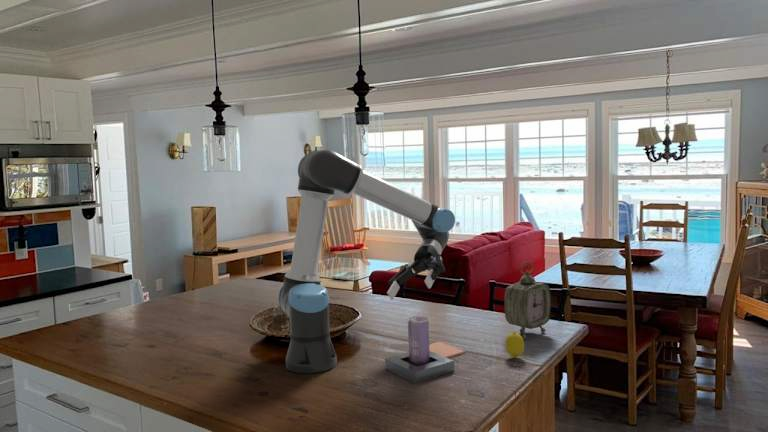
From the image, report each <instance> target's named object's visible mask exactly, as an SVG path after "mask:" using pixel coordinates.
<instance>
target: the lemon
mask: <svg viewBox="0 0 768 432" xmlns="http://www.w3.org/2000/svg"><path fill="white" fill-rule="evenodd" d="M521 336H522V334H519V333H517V332H516V331H513V332H511V333H509V334H508V336H506V339H505V343H504V346H505V350H506V353H507V354H508V355H509V356H511V357H512V358H513V359H517V358H518V357H519V356H521V355H522V354H523V353H524V349H525V341H524V339H523V338H522V337H521Z"/></svg>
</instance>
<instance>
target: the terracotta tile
mask: <svg viewBox="0 0 768 432" xmlns="http://www.w3.org/2000/svg"><path fill="white" fill-rule="evenodd" d="M429 351H430V352H433V353H436V354H438V355H441V356H443V357H446V358H449V359H451V358H452V357H456V356H459V355H463V354H465V353H466V351H465V350H464V349H460V348H457V347H456V346H452V345H450V344H446V343H444V342H441V341H437V342H433V343H429Z"/></svg>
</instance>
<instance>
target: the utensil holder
mask: <svg viewBox="0 0 768 432" xmlns="http://www.w3.org/2000/svg"><path fill="white" fill-rule="evenodd" d="M276 308H277V309H279V310H277V309H276ZM280 310H281V313H280ZM274 313H275V314H273V316H272V318H271V319H272V322H271V330H272V329H273V330H279V331H286V330H289V331H290V322H289V321H288V316H287V315H286V314H285V313H284V312H283V311H282V309H281V307H280V306H277V305H275V306H274ZM277 313H278V314H277ZM283 313H284V314H283Z"/></svg>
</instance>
